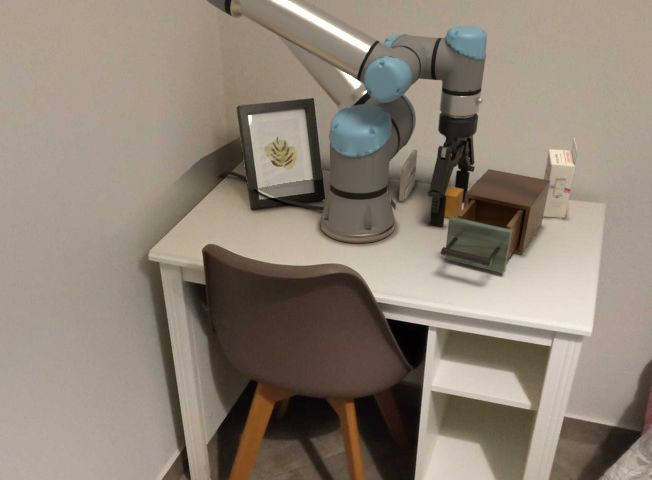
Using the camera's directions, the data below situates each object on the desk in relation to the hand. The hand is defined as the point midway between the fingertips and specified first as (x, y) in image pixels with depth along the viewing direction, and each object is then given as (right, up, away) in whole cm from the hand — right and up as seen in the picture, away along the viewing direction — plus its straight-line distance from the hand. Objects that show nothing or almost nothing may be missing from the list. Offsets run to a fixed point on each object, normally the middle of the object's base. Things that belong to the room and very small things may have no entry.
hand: (448, 212), depth 152 cm
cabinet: (+9, -6, -8) cm, 13 cm away
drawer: (+2, -12, -18) cm, 22 cm away
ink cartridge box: (+22, +1, +1) cm, 22 cm away
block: (0, 0, 0) cm, 0 cm away
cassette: (-8, +6, +9) cm, 14 cm away
